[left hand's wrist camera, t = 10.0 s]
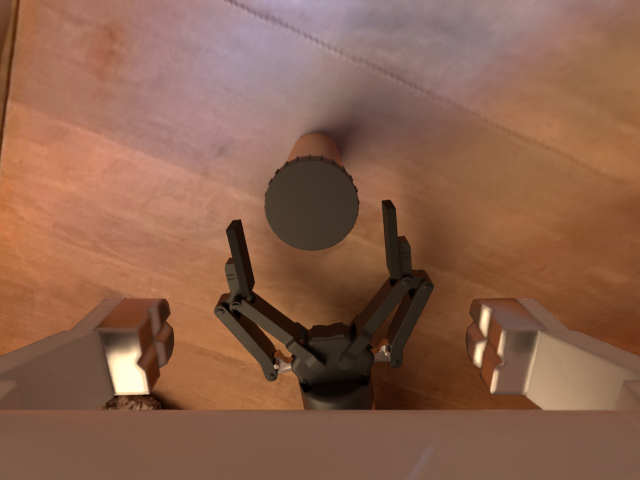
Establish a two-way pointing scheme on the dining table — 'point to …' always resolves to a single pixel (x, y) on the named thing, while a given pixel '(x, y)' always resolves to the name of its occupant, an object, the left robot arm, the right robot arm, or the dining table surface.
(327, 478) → the left robot arm
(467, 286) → the dining table surface
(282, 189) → the lid
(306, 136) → the grey bottle
